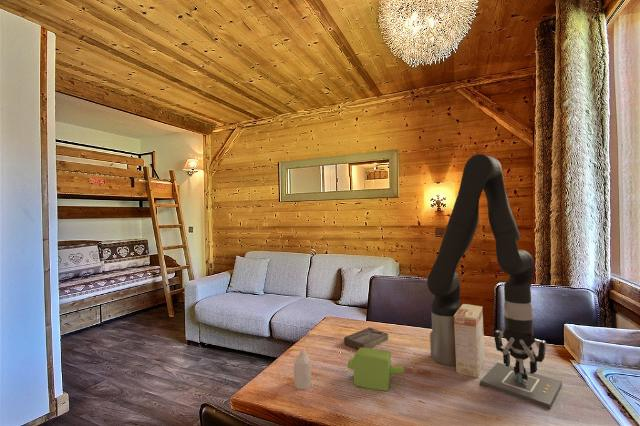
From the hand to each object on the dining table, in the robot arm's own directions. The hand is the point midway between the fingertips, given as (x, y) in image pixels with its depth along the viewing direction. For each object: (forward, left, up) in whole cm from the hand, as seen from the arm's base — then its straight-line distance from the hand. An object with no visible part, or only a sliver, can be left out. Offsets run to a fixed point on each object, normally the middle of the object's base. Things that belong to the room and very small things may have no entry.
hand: (520, 369), depth 98 cm
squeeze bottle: (-50, -46, -5) cm, 68 cm away
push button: (0, 0, -4) cm, 4 cm away
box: (-55, -6, -6) cm, 56 cm away
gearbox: (-34, -28, -5) cm, 44 cm away
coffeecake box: (-16, +2, -5) cm, 17 cm away
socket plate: (0, 0, -5) cm, 5 cm away
